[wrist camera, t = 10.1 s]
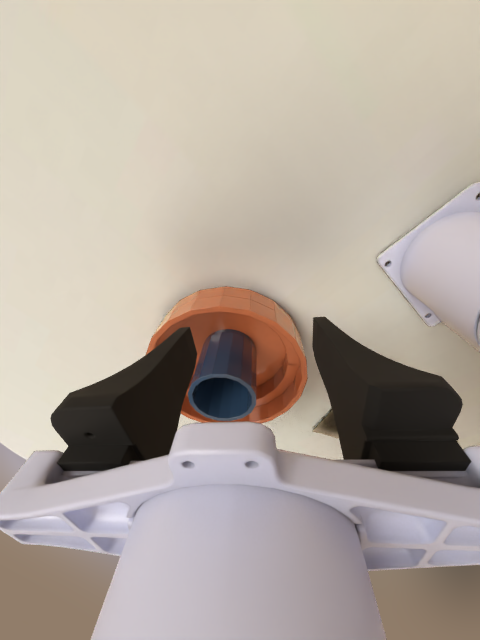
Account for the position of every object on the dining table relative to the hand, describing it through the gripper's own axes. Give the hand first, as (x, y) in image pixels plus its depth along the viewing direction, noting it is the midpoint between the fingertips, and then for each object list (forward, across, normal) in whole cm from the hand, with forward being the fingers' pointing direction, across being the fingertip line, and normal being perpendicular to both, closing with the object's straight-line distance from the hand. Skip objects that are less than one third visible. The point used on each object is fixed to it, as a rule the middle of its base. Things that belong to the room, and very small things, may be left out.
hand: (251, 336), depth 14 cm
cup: (+9, +3, +8) cm, 12 cm away
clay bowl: (+9, +3, +8) cm, 13 cm away
